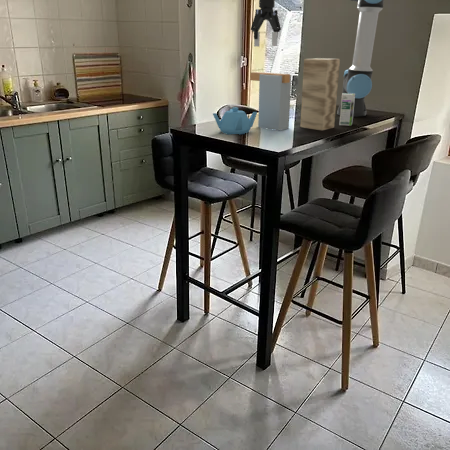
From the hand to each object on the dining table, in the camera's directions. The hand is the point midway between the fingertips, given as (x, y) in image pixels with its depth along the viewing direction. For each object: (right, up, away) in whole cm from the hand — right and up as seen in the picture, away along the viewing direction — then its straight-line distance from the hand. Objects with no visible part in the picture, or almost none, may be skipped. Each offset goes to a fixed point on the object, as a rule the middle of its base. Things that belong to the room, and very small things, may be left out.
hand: (265, 46), depth 228 cm
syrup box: (+38, -41, -8) cm, 56 cm away
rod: (0, -24, -20) cm, 31 cm away
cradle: (+2, -43, -14) cm, 46 cm away
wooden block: (+23, -43, -14) cm, 51 cm away
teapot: (-16, -48, -23) cm, 55 cm away
